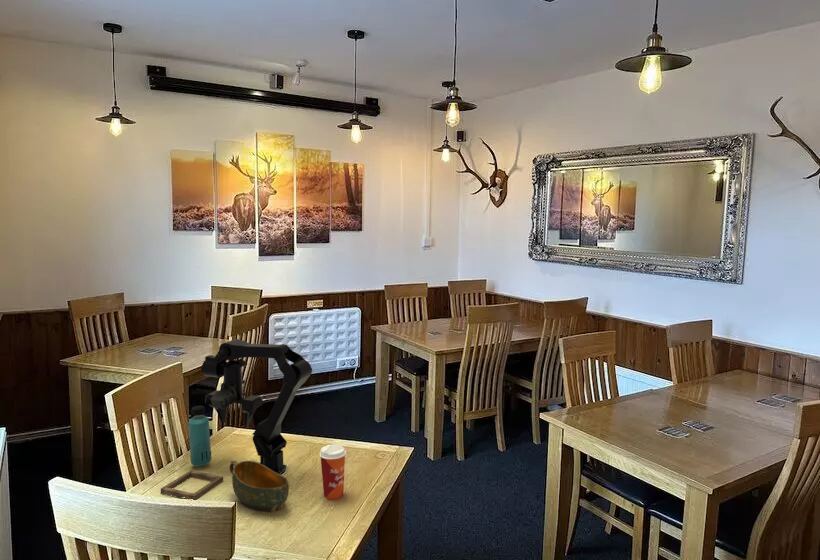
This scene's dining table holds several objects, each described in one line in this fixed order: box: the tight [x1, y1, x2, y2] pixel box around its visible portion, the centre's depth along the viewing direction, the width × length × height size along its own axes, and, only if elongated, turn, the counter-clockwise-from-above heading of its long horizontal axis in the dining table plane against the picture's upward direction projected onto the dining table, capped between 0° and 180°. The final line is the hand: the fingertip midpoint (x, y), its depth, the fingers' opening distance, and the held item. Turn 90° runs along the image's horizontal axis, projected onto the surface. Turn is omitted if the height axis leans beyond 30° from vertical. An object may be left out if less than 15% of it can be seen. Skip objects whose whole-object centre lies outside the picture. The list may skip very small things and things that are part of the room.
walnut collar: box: [160, 469, 224, 501], centre depth 166 cm, size 12×12×2 cm
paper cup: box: [319, 444, 347, 501], centre depth 161 cm, size 8×8×14 cm
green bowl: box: [229, 460, 290, 513], centre depth 157 cm, size 13×20×10 cm, turn 32°
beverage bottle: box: [187, 405, 212, 467], centre depth 179 cm, size 6×7×20 cm
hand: (234, 425), depth 180 cm, fingers open, 9 cm apart
